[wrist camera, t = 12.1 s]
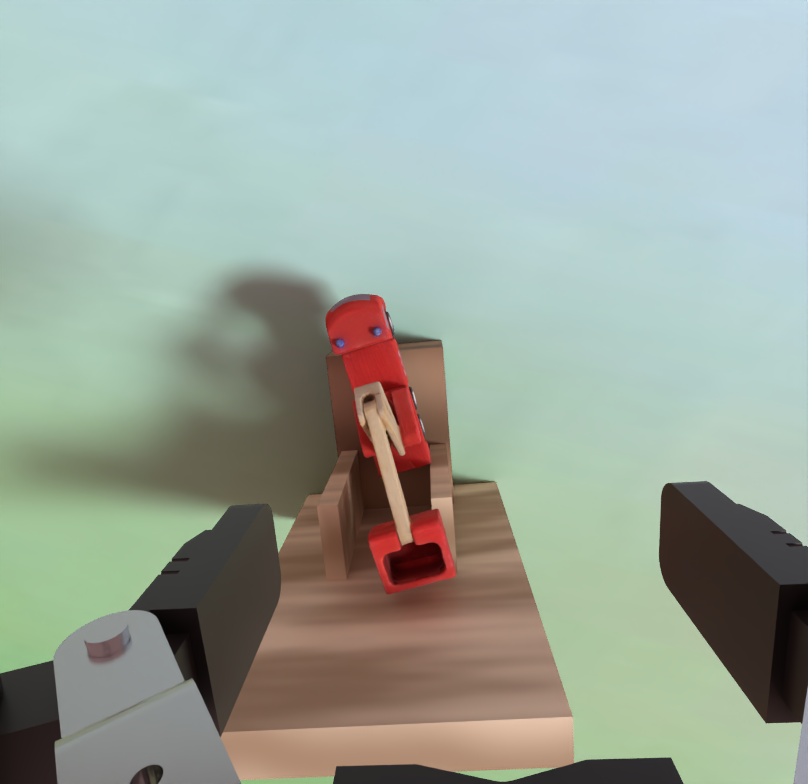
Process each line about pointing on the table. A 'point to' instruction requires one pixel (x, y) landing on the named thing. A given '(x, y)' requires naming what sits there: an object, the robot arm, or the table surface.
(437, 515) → the toy fire truck
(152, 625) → the robot arm
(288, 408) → the table surface
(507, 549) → the board
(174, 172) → the table surface
